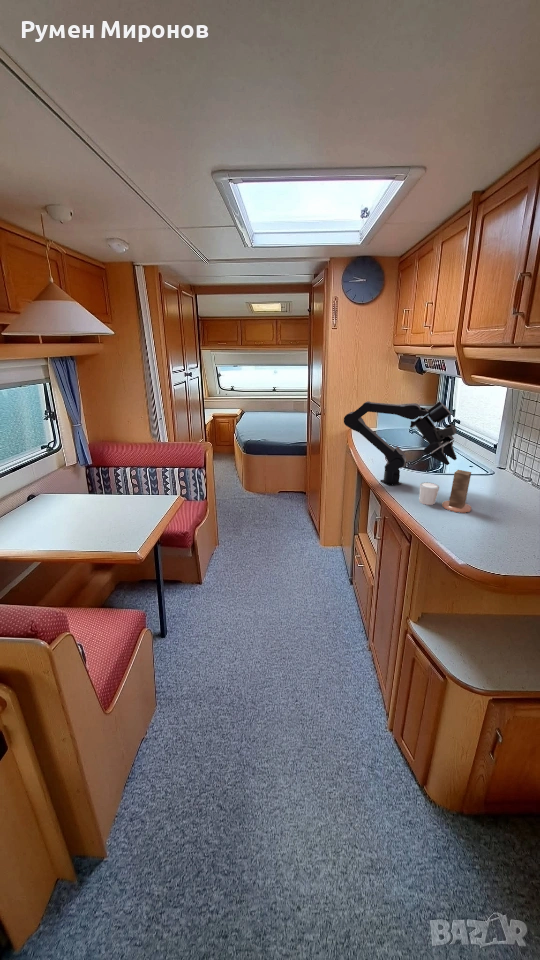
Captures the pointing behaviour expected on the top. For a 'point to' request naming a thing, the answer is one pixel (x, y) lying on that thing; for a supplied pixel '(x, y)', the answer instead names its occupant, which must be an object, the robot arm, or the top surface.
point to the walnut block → (459, 488)
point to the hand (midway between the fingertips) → (452, 462)
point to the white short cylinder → (428, 493)
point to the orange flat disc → (465, 509)
